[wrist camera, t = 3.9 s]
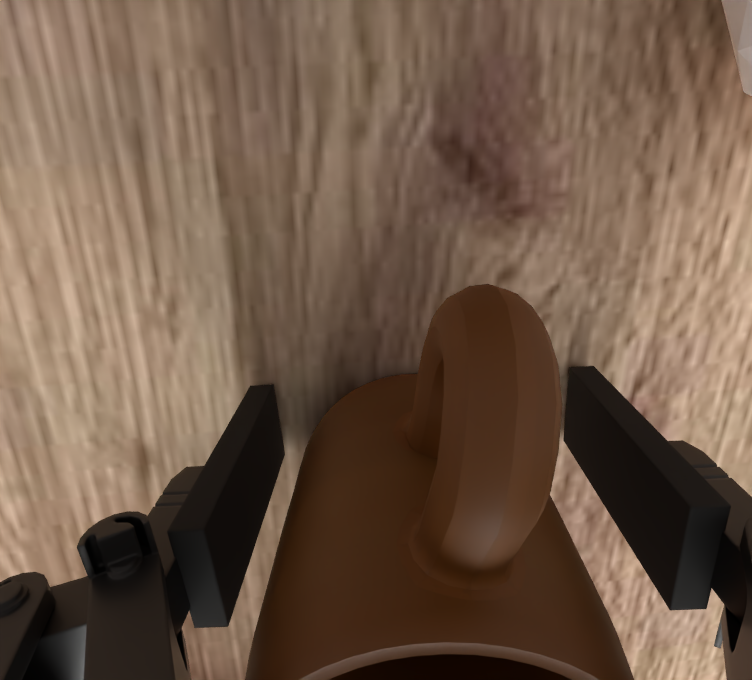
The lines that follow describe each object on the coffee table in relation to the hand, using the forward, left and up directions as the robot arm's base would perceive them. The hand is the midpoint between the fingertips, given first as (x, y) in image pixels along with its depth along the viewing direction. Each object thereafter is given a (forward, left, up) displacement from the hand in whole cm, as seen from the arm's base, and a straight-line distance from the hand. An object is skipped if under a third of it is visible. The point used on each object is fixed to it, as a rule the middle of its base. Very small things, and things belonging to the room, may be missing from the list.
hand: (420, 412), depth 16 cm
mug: (0, 0, 0) cm, 0 cm away
